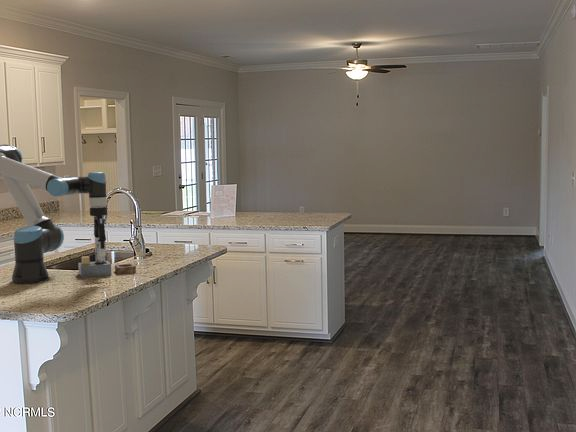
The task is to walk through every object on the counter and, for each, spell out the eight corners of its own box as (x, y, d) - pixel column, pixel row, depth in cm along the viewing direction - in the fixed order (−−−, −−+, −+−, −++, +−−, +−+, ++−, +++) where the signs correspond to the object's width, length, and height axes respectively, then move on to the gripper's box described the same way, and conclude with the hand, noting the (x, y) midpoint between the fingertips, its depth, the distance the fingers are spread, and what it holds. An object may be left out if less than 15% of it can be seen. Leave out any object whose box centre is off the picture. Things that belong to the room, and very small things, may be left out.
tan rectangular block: (83, 273, 298) (82, 257, 297) (82, 272, 301) (81, 256, 300) (90, 272, 299) (89, 257, 298) (89, 271, 302) (88, 256, 301)
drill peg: (97, 275, 300) (95, 244, 299) (95, 273, 304) (94, 243, 302) (106, 274, 302) (104, 243, 300) (104, 272, 305) (103, 242, 304)
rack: (117, 276, 301) (116, 267, 301) (114, 273, 309) (113, 264, 309) (137, 275, 305) (137, 266, 304) (133, 271, 313) (133, 263, 312)
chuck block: (81, 280, 295) (80, 266, 294) (78, 276, 304) (78, 262, 303) (111, 277, 300) (111, 264, 299) (108, 273, 309) (107, 260, 308)
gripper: (111, 208, 289) (113, 257, 292) (103, 204, 312) (105, 249, 314) (93, 209, 286) (95, 258, 289) (86, 205, 309) (88, 250, 312)
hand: (100, 253), depth 302 cm, fingers open, 13 cm apart
